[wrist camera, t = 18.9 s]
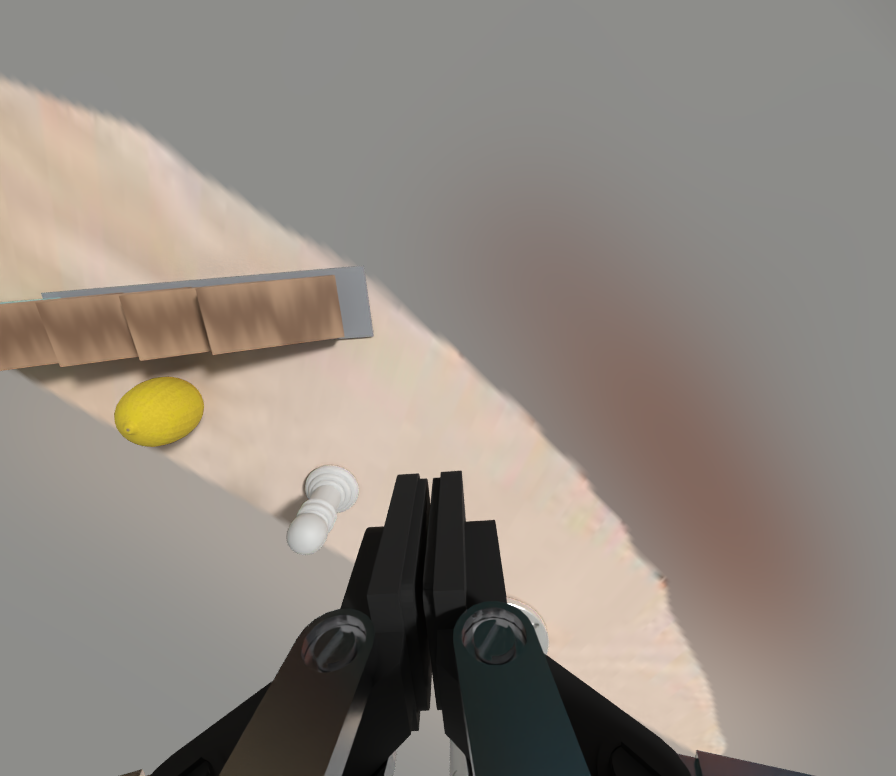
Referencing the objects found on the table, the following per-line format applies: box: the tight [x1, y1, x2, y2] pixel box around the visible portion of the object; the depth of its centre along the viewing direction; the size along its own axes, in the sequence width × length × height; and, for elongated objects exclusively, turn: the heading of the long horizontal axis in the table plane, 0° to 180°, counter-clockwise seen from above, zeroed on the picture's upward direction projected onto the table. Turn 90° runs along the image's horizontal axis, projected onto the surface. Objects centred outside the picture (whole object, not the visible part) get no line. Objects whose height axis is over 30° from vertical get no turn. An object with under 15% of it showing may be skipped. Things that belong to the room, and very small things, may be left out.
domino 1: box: [0, 292, 123, 371], centre depth 34 cm, size 5×2×10 cm
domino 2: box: [35, 287, 192, 367], centre depth 34 cm, size 5×2×10 cm
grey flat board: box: [41, 266, 374, 341], centre depth 36 cm, size 6×28×1 cm, turn 95°
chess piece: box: [287, 465, 359, 555], centre depth 38 cm, size 5×5×9 cm
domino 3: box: [119, 281, 260, 361], centre depth 34 cm, size 5×2×10 cm
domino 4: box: [195, 275, 345, 355], centre depth 33 cm, size 5×2×10 cm
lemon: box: [114, 377, 204, 447], centre depth 35 cm, size 6×6×8 cm
